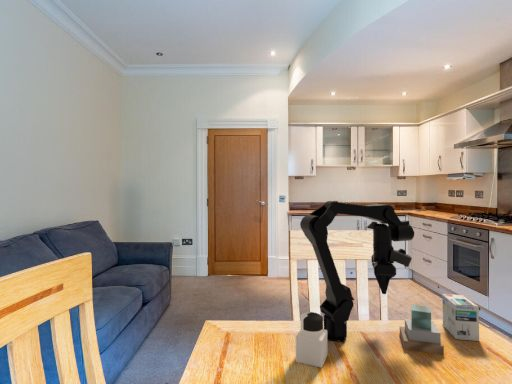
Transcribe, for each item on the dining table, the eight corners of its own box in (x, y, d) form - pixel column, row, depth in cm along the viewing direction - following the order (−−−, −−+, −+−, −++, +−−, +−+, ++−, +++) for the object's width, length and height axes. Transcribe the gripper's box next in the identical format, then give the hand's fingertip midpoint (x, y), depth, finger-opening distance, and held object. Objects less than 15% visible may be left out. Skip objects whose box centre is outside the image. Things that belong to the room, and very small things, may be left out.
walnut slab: (404, 351, 88) (404, 340, 88) (399, 335, 98) (399, 326, 98) (443, 356, 85) (443, 346, 85) (435, 340, 95) (435, 330, 95)
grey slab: (409, 339, 89) (409, 329, 89) (404, 328, 97) (404, 318, 97) (440, 343, 87) (440, 333, 87) (433, 331, 94) (433, 321, 94)
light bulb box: (480, 341, 92) (479, 306, 92) (455, 339, 94) (455, 304, 94) (463, 326, 103) (463, 294, 103) (441, 324, 104) (441, 293, 104)
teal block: (411, 327, 91) (411, 310, 91) (411, 320, 95) (411, 304, 95) (431, 330, 88) (431, 312, 88) (430, 323, 93) (429, 306, 93)
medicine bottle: (327, 355, 86) (327, 312, 86) (322, 368, 79) (321, 322, 79) (303, 349, 89) (302, 308, 89) (295, 362, 82) (295, 317, 82)
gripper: (414, 248, 90) (415, 301, 90) (405, 238, 108) (405, 283, 108) (374, 246, 94) (374, 298, 94) (371, 237, 111) (371, 280, 111)
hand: (382, 289), depth 102 cm, fingers open, 9 cm apart
